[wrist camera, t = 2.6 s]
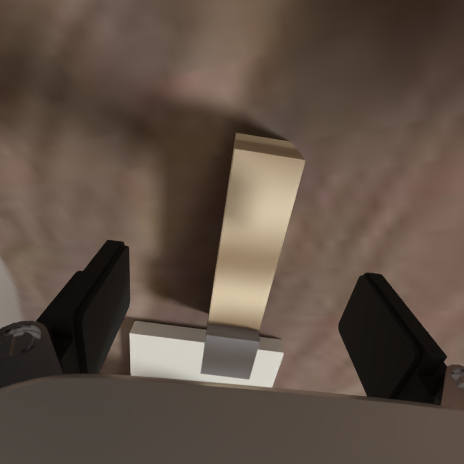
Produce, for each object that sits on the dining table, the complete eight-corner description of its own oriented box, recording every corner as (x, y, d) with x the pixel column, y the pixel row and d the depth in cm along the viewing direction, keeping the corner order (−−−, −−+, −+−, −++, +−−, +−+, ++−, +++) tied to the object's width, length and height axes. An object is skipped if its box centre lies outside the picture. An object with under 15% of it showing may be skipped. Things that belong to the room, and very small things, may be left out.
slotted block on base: (135, 320, 27) (69, 469, 16) (281, 339, 27) (306, 493, 17) (136, 412, 34) (90, 556, 23) (253, 426, 34) (258, 571, 24)
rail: (236, 132, 18) (234, 153, 13) (290, 141, 19) (310, 165, 13) (208, 313, 26) (200, 373, 21) (247, 319, 26) (249, 379, 21)
